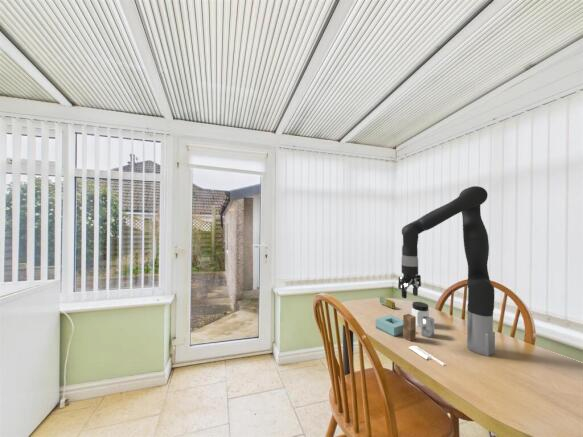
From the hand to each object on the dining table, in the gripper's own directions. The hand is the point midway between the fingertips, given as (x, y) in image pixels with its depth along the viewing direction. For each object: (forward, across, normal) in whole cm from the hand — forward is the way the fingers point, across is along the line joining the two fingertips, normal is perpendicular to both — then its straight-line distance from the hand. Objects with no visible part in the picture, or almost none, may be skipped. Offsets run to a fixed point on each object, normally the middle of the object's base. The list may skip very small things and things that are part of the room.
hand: (409, 296), depth 119 cm
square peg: (+22, 0, 0) cm, 22 cm away
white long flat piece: (+22, -9, -13) cm, 28 cm away
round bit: (+22, +12, -2) cm, 25 cm away
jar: (+22, +21, +8) cm, 31 cm away
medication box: (+22, +29, +38) cm, 52 cm away
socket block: (+22, +1, +11) cm, 24 cm away
